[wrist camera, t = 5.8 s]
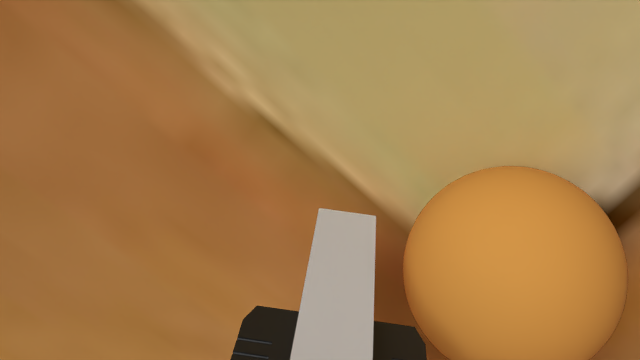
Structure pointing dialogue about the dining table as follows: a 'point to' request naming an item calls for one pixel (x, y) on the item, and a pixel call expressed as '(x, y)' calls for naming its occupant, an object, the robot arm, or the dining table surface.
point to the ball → (515, 268)
